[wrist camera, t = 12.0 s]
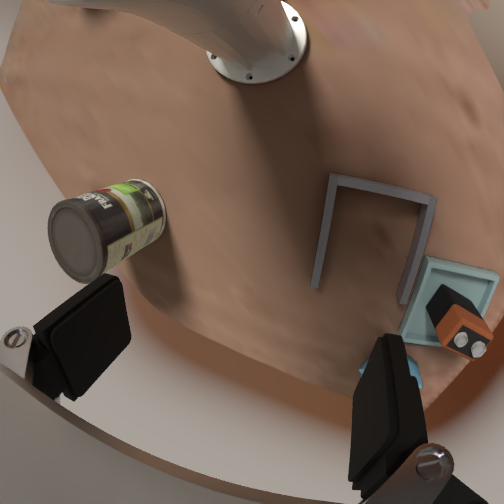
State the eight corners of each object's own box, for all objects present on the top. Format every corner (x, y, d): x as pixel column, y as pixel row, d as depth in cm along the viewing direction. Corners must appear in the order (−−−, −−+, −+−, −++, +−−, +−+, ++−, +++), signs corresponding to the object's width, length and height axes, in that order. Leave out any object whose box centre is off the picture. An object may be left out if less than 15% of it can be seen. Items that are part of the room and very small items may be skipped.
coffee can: (112, 176, 41) (43, 196, 29) (167, 182, 39) (98, 206, 27) (114, 237, 45) (53, 272, 33) (166, 250, 43) (107, 294, 31)
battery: (455, 323, 35) (475, 368, 26) (423, 306, 35) (441, 352, 26) (472, 300, 33) (498, 341, 24) (441, 281, 33) (465, 322, 24)
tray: (424, 255, 33) (428, 261, 32) (494, 271, 31) (499, 277, 29) (396, 333, 38) (398, 341, 36) (462, 341, 36) (466, 349, 34)
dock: (329, 172, 33) (329, 174, 31) (430, 194, 31) (437, 198, 28) (311, 278, 39) (309, 287, 37) (402, 295, 36) (406, 304, 34)
